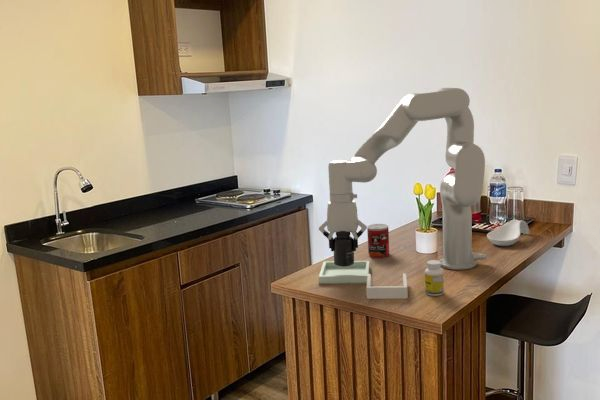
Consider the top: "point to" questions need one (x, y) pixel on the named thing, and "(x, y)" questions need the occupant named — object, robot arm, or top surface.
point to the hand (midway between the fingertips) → (343, 249)
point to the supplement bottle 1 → (343, 249)
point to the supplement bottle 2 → (434, 278)
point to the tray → (344, 273)
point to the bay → (387, 290)
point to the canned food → (378, 240)
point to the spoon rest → (508, 233)
